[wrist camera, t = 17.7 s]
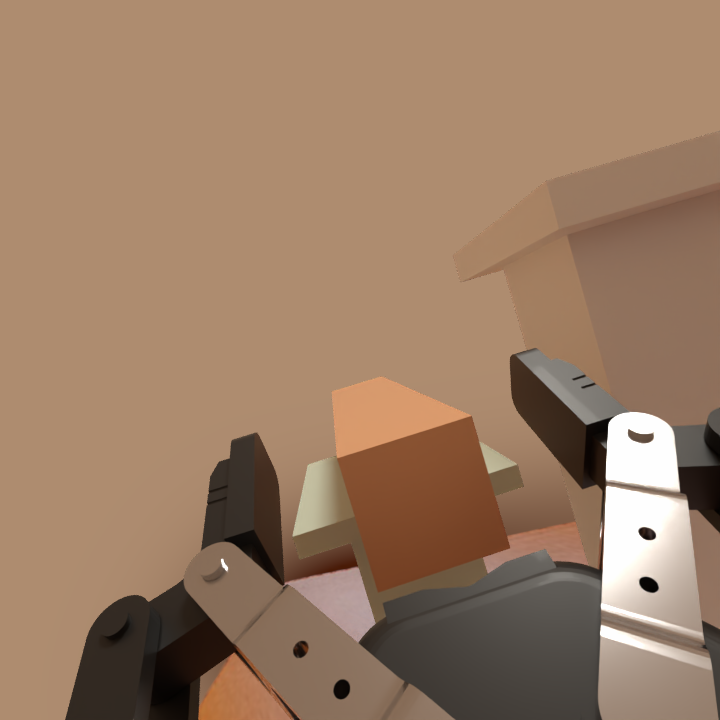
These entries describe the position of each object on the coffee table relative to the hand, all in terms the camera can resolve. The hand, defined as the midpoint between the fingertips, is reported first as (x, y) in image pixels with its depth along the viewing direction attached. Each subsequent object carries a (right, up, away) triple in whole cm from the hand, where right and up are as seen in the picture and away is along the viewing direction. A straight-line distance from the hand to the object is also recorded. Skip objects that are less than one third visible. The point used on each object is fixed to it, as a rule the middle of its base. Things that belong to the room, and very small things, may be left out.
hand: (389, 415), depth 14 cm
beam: (+1, -4, +10) cm, 11 cm away
